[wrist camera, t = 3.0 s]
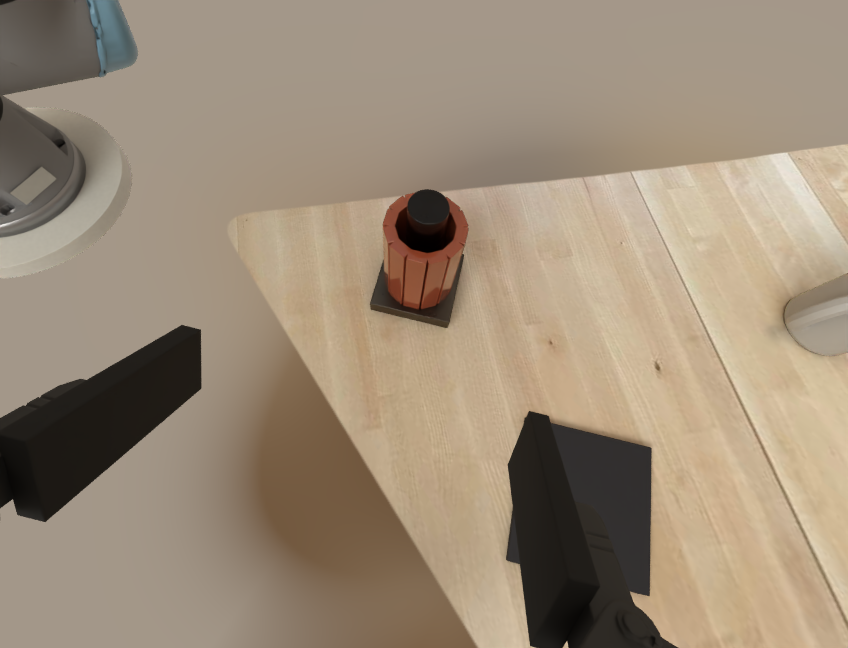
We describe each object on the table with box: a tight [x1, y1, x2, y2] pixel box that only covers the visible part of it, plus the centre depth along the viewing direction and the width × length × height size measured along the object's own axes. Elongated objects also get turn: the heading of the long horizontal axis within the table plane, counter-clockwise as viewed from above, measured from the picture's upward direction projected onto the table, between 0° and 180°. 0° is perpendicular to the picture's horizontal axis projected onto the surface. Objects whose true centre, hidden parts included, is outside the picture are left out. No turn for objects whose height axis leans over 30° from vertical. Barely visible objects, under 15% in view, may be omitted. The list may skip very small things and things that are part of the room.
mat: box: [506, 417, 651, 596], centre depth 35 cm, size 12×12×1 cm
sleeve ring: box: [383, 193, 468, 309], centre depth 36 cm, size 7×7×9 cm
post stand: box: [370, 189, 464, 328], centre depth 36 cm, size 8×8×13 cm
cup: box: [784, 273, 848, 356], centre depth 39 cm, size 7×10×9 cm
